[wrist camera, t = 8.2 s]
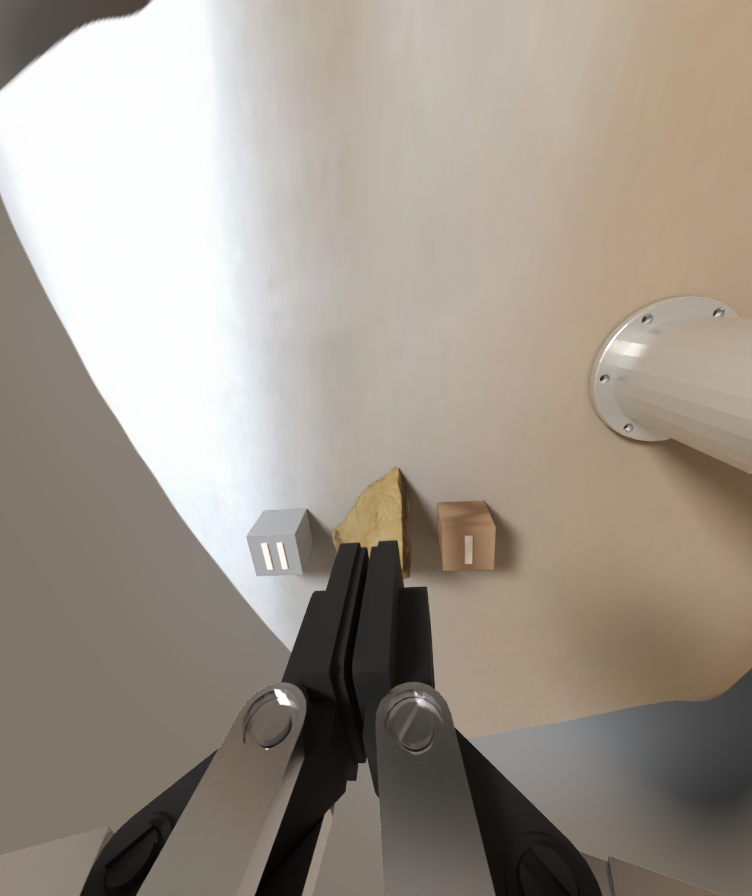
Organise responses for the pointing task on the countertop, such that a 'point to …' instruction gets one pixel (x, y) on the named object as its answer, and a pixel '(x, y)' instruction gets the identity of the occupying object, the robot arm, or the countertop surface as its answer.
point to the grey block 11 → (281, 542)
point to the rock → (380, 518)
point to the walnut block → (465, 536)
